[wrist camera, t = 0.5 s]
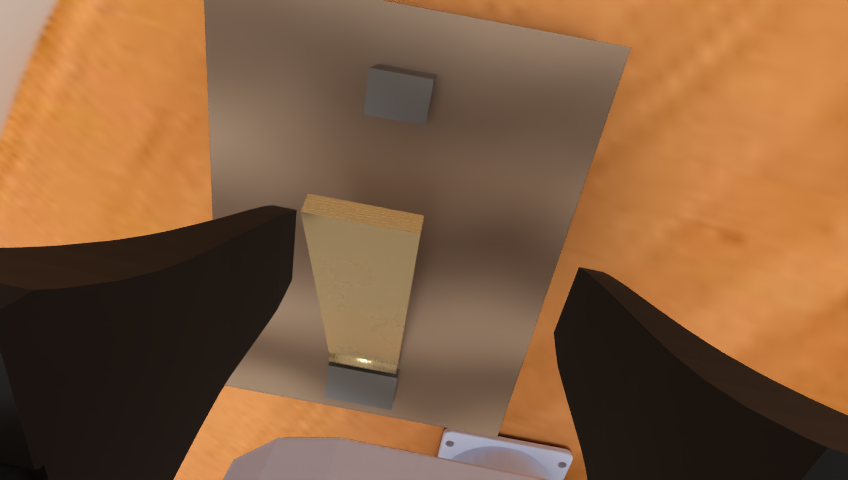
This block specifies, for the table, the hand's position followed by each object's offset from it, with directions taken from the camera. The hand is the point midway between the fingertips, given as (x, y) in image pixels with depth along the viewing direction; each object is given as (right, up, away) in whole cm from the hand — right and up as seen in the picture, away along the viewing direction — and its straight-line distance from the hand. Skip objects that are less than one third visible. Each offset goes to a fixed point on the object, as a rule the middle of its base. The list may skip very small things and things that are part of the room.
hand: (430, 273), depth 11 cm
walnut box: (-2, +2, +11) cm, 11 cm away
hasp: (-2, -1, +5) cm, 5 cm away
